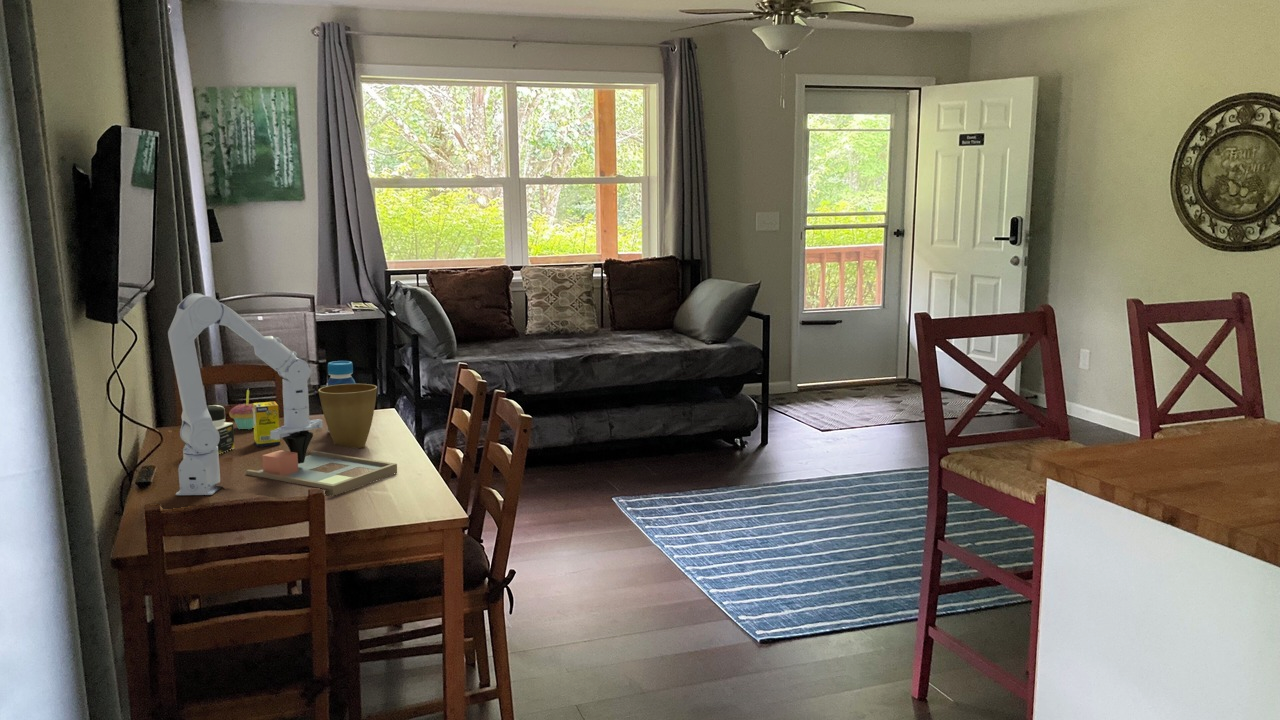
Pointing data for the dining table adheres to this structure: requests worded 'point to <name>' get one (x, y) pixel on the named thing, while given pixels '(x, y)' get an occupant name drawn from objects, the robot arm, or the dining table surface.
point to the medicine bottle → (222, 428)
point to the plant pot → (348, 412)
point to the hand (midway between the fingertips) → (299, 462)
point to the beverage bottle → (340, 373)
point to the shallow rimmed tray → (330, 479)
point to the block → (280, 462)
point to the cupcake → (243, 414)
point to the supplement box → (265, 423)
